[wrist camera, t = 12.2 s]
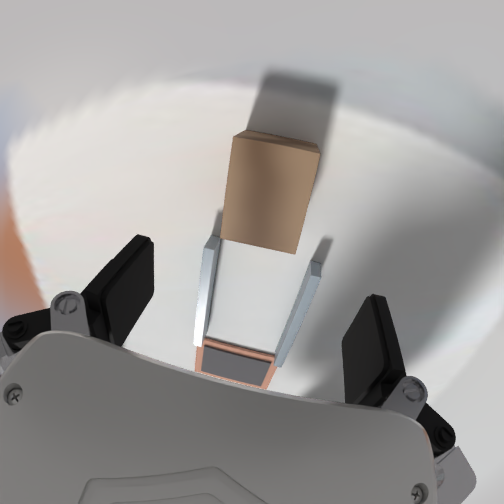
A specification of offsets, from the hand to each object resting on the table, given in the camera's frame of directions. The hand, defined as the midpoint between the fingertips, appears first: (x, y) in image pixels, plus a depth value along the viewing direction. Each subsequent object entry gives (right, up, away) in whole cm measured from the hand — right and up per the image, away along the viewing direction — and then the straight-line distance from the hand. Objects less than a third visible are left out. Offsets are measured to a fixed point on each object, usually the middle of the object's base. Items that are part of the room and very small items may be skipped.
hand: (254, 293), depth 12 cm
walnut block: (+2, +8, +13) cm, 15 cm away
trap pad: (-2, -14, +26) cm, 30 cm away
